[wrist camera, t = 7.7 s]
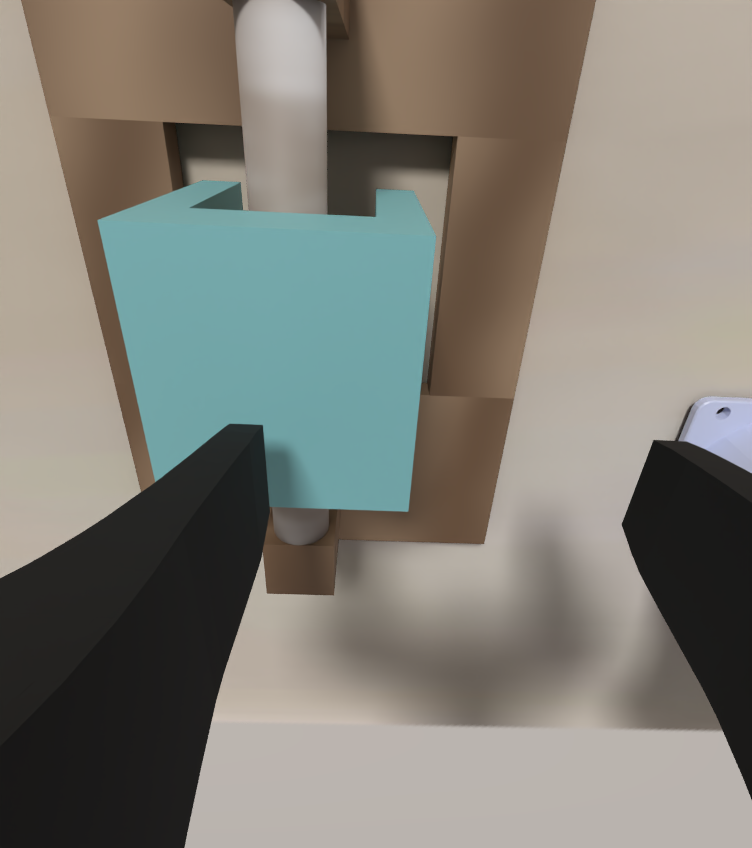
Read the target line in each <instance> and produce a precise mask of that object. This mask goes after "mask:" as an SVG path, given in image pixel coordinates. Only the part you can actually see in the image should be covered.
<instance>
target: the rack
mask: <svg viewBox="0 0 752 848" xmlns="http://www.w3.org/2000/svg"><path fill="white" fill-rule="evenodd" d="M21 2H22V6H23V10H24V14H25V18H26V22H27V26H28V30H29V34H30V38H31V42H32V47H33V51H34V55H35V59H36V63H37V67H38V71H39V75H40V79H41V83H42V88H43V92H44V96H45V100H46V104H47V108H48V112H49V116H50V120H51V124H52V128H53V133H54V137H55V141H56V145H57V149H58V153H59V157H60V161H61V165H62V169H63V174H64V178H65V182H66V186H67V190H68V194H69V198H70V202H71V206H72V210H73V214H74V219H75V223H76V227H77V231H78V235H79V239H80V243H81V247H82V251H83V255H84V260H85V264H86V268H87V272H88V276H89V280H90V284H91V288H92V292H93V296H94V300H95V305H96V309H97V313H98V317H99V321H100V325H101V329H102V333H103V337H104V341H105V346H106V350H107V354H108V358H109V362H110V366H111V370H112V374H113V378H114V382H115V387H116V391H117V395H118V399H119V403H120V407H121V411H122V415H123V419H124V423H125V427H126V432H127V436H128V440H129V444H130V448H131V452H132V456H133V460H134V464H135V468H136V473H137V477H138V481H139V485H140V489H141V492H142V491H144V490H145V489H146V488H148V487H149V486H151V485H152V484H153V483H155V479H154V474H153V470H152V465H151V461H150V456H149V452H148V447H147V443H146V438H145V434H144V429H143V424H142V420H141V415H140V411H139V406H138V402H137V397H136V393H135V388H134V384H133V379H132V375H131V370H130V366H129V361H128V357H127V352H126V347H125V343H124V338H123V334H122V329H121V325H120V320H119V316H118V311H117V307H116V302H115V298H114V293H113V289H112V284H111V279H110V275H109V270H108V266H107V261H106V257H105V252H104V248H103V243H102V239H101V234H100V230H99V225H98V221H97V220H99V219H101V218H104V217H107V216H109V215H112V214H115V213H117V212H120V211H123V210H125V209H128V208H131V207H133V206H136V205H139V204H141V203H144V202H147V201H149V200H152V199H155V198H157V197H160V196H163V195H165V194H168V193H171V192H173V191H176V190H178V189H181V188H184V185H183V178H182V170H181V163H180V156H179V148H178V141H177V134H176V126H175V122H176V123H196V124H216V125H236V126H242V131H243V143H244V156H245V169H246V181H247V194H248V207H249V211H263V212H281V213H304V214H325V215H327V130H337V131H358V132H378V133H398V134H418V135H438V136H453V141H452V151H451V160H450V170H449V179H448V189H447V198H446V208H445V217H444V227H443V236H442V246H441V255H440V265H439V274H438V284H437V293H436V303H435V312H434V322H433V331H432V341H431V350H430V360H429V369H428V379H427V383H421V391H420V400H419V410H418V420H417V430H416V440H415V450H414V460H413V470H412V480H411V490H410V499H409V509H408V512H403V511H375V510H346V509H317V508H288V507H270V515H269V520H268V526H267V531H266V537H265V542H264V547H263V557H264V567H265V578H266V588H267V593H269V594H305V595H334V588H335V576H336V564H337V553H338V541H339V539H342V540H375V541H408V542H440V543H473V544H484V541H485V536H486V531H487V527H488V522H489V517H490V512H491V507H492V502H493V497H494V493H495V488H496V483H497V478H498V473H499V468H500V463H501V459H502V454H503V449H504V444H505V439H506V434H507V429H508V425H509V420H510V415H511V410H512V405H513V400H514V395H515V390H516V386H517V381H518V376H519V371H520V366H521V361H522V356H523V352H524V347H525V342H526V337H527V332H528V327H529V322H530V318H531V313H532V308H533V303H534V298H535V293H536V288H537V284H538V279H539V274H540V269H541V264H542V259H543V254H544V249H545V245H546V240H547V235H548V230H549V225H550V220H551V215H552V211H553V206H554V201H555V196H556V191H557V186H558V181H559V177H560V172H561V167H562V162H563V157H564V152H565V147H566V143H567V138H568V133H569V128H570V123H571V118H572V113H573V109H574V104H575V99H576V94H577V89H578V84H579V79H580V74H581V70H582V65H583V60H584V55H585V50H586V45H587V40H588V36H589V31H590V26H591V21H592V16H593V11H594V6H595V2H596V0H21Z"/></svg>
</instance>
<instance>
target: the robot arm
mask: <svg viewBox="0 0 752 848" xmlns="http://www.w3.org/2000/svg"><path fill="white" fill-rule="evenodd" d="M721 408H724V409H723V411H722V412H720V413H719V414H716V413H717V411H718V410H719V409H721ZM269 515H270V505H269V493H268V481H267V468H266V456H265V444H264V432H263V425H254V424H228V425H227V426H226V427H224V428H223V429H222V430H220V431H219V432H218V433H216V434H215V435H214V436H213V437H211V438H210V439H209V440H208V441H207V442H205V443H204V444H203V445H202V446H200V447H199V448H198V449H197V450H196V451H194V452H193V453H192V454H191V455H189V456H188V457H187V458H186V459H184V460H183V461H182V462H180V463H179V464H178V465H177V466H175V467H174V468H173V469H172V470H170V471H169V472H168V473H166V474H165V475H164V476H163V477H161V478H160V479H159V480H157V481H156V482H155V483H153V484H152V485H151V486H149V487H148V488H146V489H145V490H144V491H142V492H141V493H139V494H138V495H136V496H135V497H134V498H132V499H131V500H129V501H128V502H127V503H125V504H124V505H122V506H121V507H120V508H118V509H117V510H115V511H114V512H112V513H111V514H110V515H108V516H107V517H105V518H104V519H102V520H101V521H99V522H98V523H96V524H95V525H93V526H91V527H90V528H88V529H87V530H85V531H83V532H82V533H80V534H79V535H77V536H75V537H74V538H72V539H70V540H69V541H67V542H65V543H64V544H62V545H60V546H59V547H57V548H55V549H53V550H52V551H50V552H48V553H47V554H45V555H43V556H42V557H40V558H38V559H36V560H34V561H33V562H31V563H29V564H27V565H25V566H23V567H22V568H20V569H18V570H16V571H14V572H12V573H10V574H8V575H6V576H4V577H2V578H0V848H184V847H185V842H186V836H187V832H188V827H189V822H190V817H191V813H192V808H193V803H194V798H195V794H196V789H197V784H198V780H199V775H200V770H201V765H202V761H203V756H204V752H205V748H206V743H207V739H208V734H209V729H210V725H211V721H212V717H213V712H214V708H215V703H216V699H217V696H218V692H219V689H220V685H221V682H222V678H223V674H224V671H225V668H226V665H227V662H228V659H229V656H230V653H231V650H232V647H233V644H234V641H235V638H236V635H237V632H238V629H239V626H240V623H241V619H242V616H243V613H244V610H245V607H246V604H247V601H248V598H249V595H250V592H251V589H252V586H253V583H254V580H255V577H256V573H257V570H258V567H259V564H260V561H261V557H262V552H263V547H264V542H265V537H266V531H267V526H268V520H269ZM622 527H623V530H624V533H625V535H626V538H627V541H628V544H629V547H630V550H631V552H632V555H633V557H634V560H635V563H636V565H637V568H638V570H639V573H640V575H641V576H642V578H643V580H644V582H645V584H646V586H647V588H648V590H649V592H650V593H651V595H652V597H653V599H654V601H655V603H656V605H657V606H658V608H659V610H660V612H661V614H662V616H663V617H664V619H665V621H666V623H667V625H668V626H669V628H670V630H671V632H672V634H673V636H674V637H675V639H676V641H677V643H678V645H679V646H680V648H681V650H682V652H683V654H684V655H685V657H686V659H687V661H688V663H689V664H690V666H691V668H692V670H693V672H694V673H695V675H696V677H697V679H698V681H699V683H700V684H701V686H702V688H703V690H704V692H705V694H706V696H707V698H708V700H709V702H710V704H711V706H712V708H713V710H714V712H715V714H716V716H717V718H718V721H719V723H720V725H721V728H722V730H723V732H724V735H725V737H726V739H727V742H728V744H729V746H730V748H731V751H732V753H733V755H734V758H735V760H736V762H737V764H738V767H739V769H740V772H741V774H742V776H743V779H744V781H745V784H746V786H747V789H748V791H749V794H750V796H751V799H752V398H734V397H704V398H702V399H700V400H698V401H697V402H696V403H695V404H694V405H693V407H692V408H691V411H690V413H689V416H688V418H687V421H686V423H685V425H684V428H683V430H682V433H681V435H680V438H679V440H678V441H663V440H654V441H653V443H652V446H651V449H650V451H649V454H648V457H647V459H646V462H645V464H644V467H643V470H642V472H641V475H640V478H639V480H638V483H637V486H636V488H635V491H634V493H633V496H632V499H631V501H630V504H629V507H628V509H627V512H626V515H625V517H624V520H623V522H622Z"/></svg>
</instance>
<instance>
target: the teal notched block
mask: <svg viewBox="0 0 752 848" xmlns="http://www.w3.org/2000/svg"><path fill="white" fill-rule="evenodd" d="M97 221H98V225H99V230H100V234H101V239H102V243H103V248H104V252H105V257H106V261H107V266H108V270H109V275H110V279H111V284H112V289H113V293H114V298H115V302H116V307H117V311H118V316H119V320H120V325H121V329H122V334H123V338H124V343H125V347H126V352H127V357H128V361H129V366H130V370H131V375H132V379H133V384H134V388H135V393H136V397H137V402H138V406H139V411H140V415H141V420H142V424H143V429H144V434H145V438H146V443H147V447H148V452H149V456H150V461H151V465H152V470H153V474H154V479H155V482H156V481H157V480H159V479H160V478H161V477H163V476H164V475H165V474H166V473H168V472H169V471H170V470H172V469H173V468H174V467H175V466H177V465H178V464H179V463H180V462H182V461H183V460H184V459H186V458H187V457H188V456H189V455H191V454H192V453H193V452H194V451H196V450H197V449H198V448H199V447H200V446H202V445H203V444H204V443H205V442H207V441H208V440H209V439H210V438H211V437H213V436H214V435H215V434H216V433H218V432H219V431H220V430H222V429H223V428H224V427H226V426H227V425H228V424H254V425H263V432H264V444H265V456H266V468H267V481H268V493H269V505H270V507H288V508H317V509H346V510H375V511H403V512H408V509H409V499H410V490H411V480H412V470H413V460H414V450H415V440H416V430H417V420H418V410H419V400H420V391H421V381H422V371H423V361H424V351H425V341H426V331H427V321H428V311H429V301H430V292H431V282H432V272H433V262H434V252H435V242H436V235H435V233H434V231H433V229H432V227H431V225H430V223H429V221H428V219H427V217H426V215H425V213H424V211H423V209H422V207H421V205H420V203H419V201H418V199H417V197H416V195H415V193H414V191H407V190H387V189H376V205H375V217H366V216H346V215H325V214H304V213H281V212H263V211H243V205H242V193H241V182H225V181H205V180H202V181H200V182H197V183H194V184H192V185H189V186H186V187H184V188H181V189H178V190H176V191H173V192H171V193H168V194H165V195H163V196H160V197H157V198H155V199H152V200H149V201H147V202H144V203H141V204H139V205H136V206H133V207H131V208H128V209H125V210H123V211H120V212H117V213H115V214H112V215H109V216H107V217H104V218H101V219H99V220H97Z"/></svg>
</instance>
